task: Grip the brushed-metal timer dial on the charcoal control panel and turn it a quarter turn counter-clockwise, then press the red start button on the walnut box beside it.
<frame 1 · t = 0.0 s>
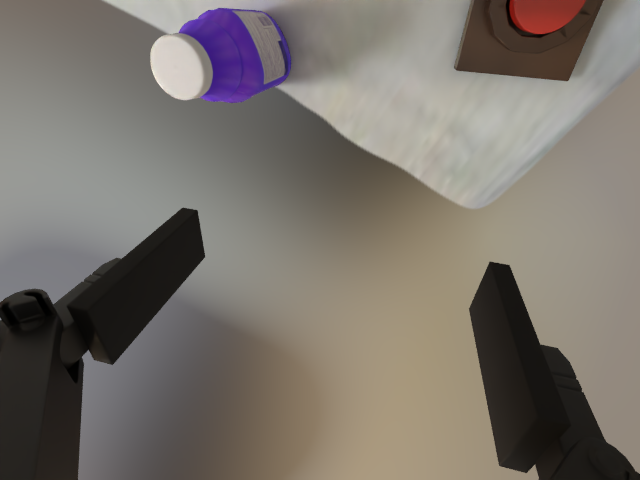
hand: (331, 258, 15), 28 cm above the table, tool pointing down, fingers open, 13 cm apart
bottle: (266, 49, 37), on the table
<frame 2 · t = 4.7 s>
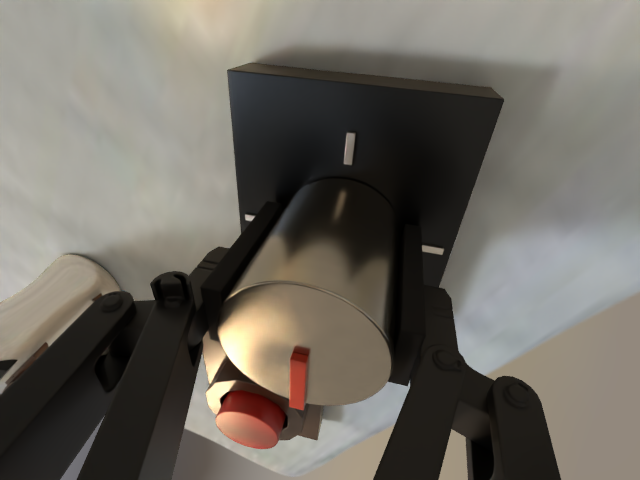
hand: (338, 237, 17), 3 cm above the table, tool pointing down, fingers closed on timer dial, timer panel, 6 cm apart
timer panel: (347, 209, 19), on the table
start button: (251, 419, 26), point 5 cm above the table, slide at 0.1 cm
beer glass: (91, 281, 29), on the table
timer dial: (323, 282, 14), point 6 cm above the table, hinge at 0.0°, touching gripper
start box: (271, 369, 30), on the table
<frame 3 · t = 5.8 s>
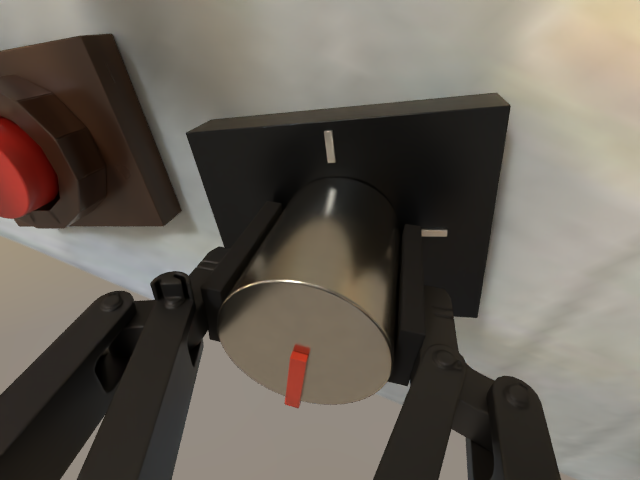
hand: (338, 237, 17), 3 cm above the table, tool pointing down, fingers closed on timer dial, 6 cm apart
timer panel: (348, 208, 19), on the table
timer dial: (324, 281, 14), point 6 cm above the table, hinge at 75.2°, touching gripper
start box: (71, 141, 21), on the table
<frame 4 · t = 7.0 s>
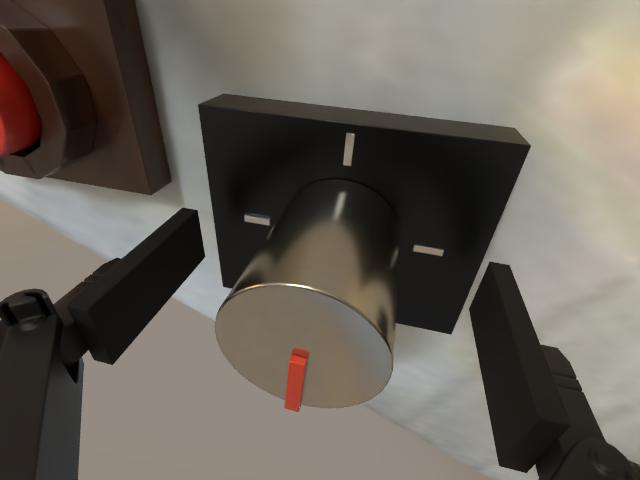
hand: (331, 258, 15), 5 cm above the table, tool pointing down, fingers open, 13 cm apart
timer panel: (347, 210, 19), on the table
timer dial: (323, 283, 14), point 6 cm above the table, hinge at 87.1°
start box: (57, 83, 19), on the table
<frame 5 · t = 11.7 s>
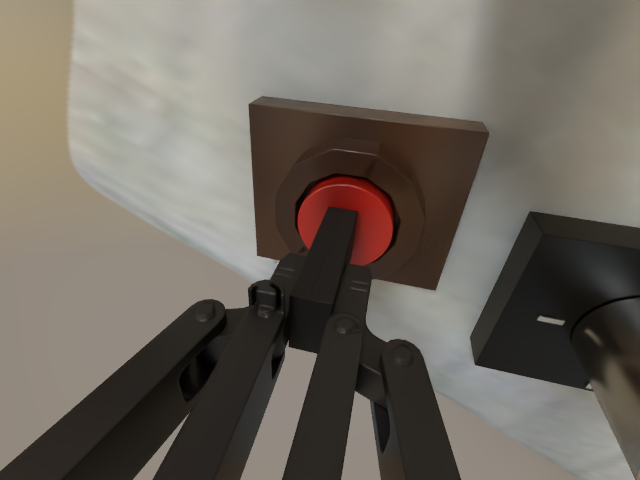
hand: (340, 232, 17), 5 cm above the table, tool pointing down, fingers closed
timer panel: (612, 304, 21), on the table
start button: (346, 220, 18), point 4 cm above the table, slide at -0.8 cm, touching gripper
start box: (355, 191, 21), on the table
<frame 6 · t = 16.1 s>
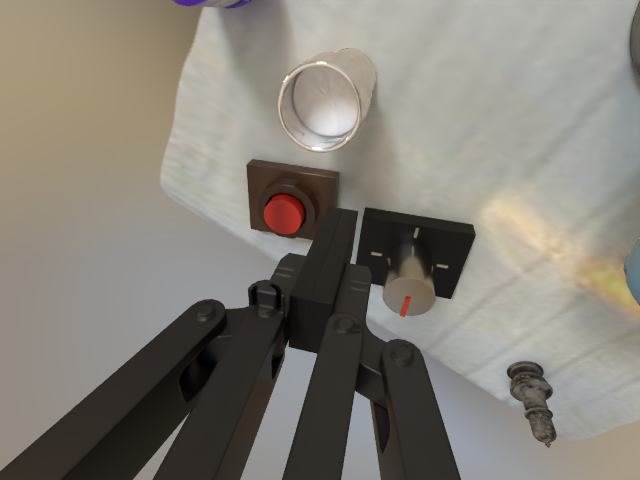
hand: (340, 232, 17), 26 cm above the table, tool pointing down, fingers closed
timer panel: (409, 249, 48), on the table
start button: (284, 214, 44), point 5 cm above the table, slide at 0.1 cm
beer glass: (349, 79, 38), on the table
timer dial: (408, 278, 43), point 6 cm above the table, hinge at 87.1°
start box: (294, 198, 48), on the table
grey ringed upright piece: (524, 370, 56), on the table
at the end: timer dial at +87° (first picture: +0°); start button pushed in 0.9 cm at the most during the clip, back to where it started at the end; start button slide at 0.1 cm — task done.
